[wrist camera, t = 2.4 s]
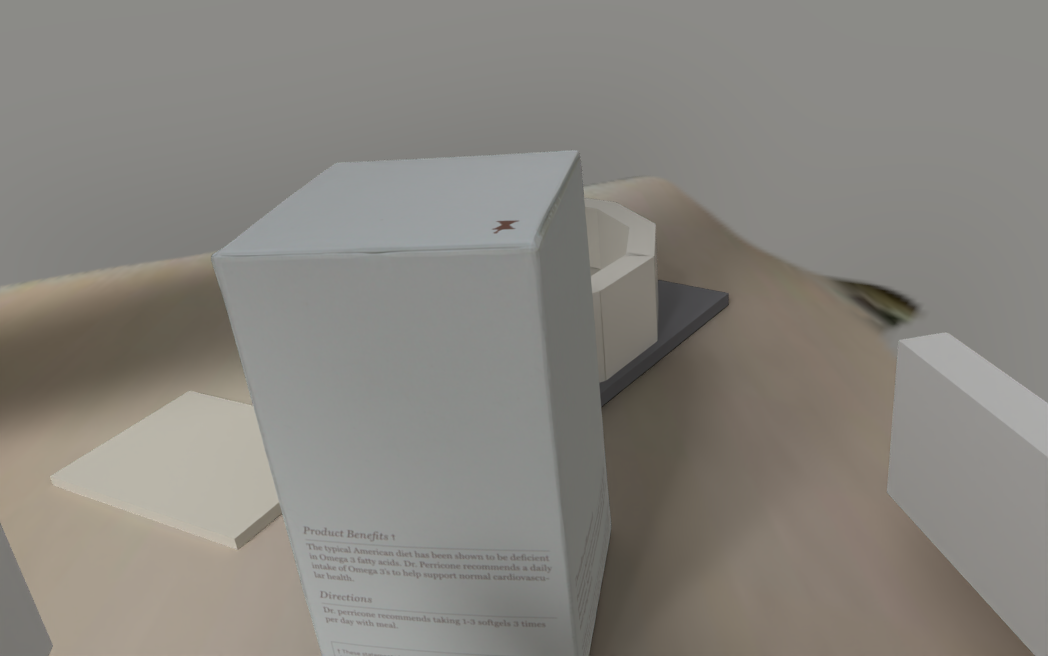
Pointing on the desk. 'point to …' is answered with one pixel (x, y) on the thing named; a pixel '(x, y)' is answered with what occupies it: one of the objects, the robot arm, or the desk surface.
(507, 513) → the supplement box
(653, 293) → the bowl
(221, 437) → the folded cloth
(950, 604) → the desk surface
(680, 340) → the mat
